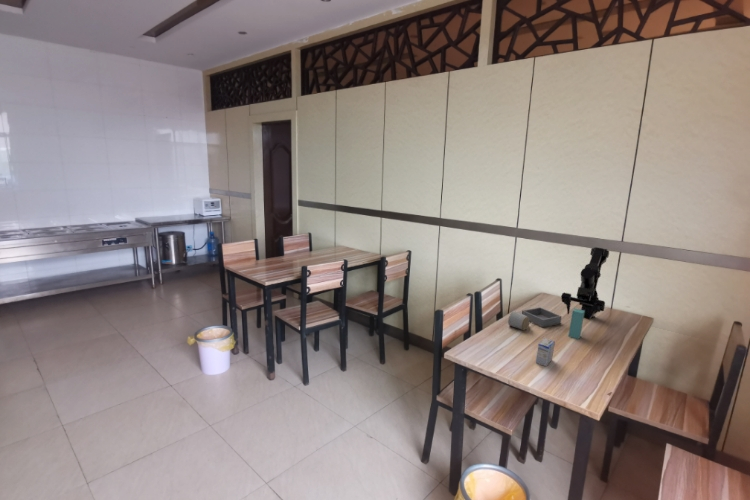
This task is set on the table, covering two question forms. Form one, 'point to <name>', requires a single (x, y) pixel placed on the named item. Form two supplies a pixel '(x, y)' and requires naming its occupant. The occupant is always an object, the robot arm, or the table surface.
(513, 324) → the ceramic mug
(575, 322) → the handle block
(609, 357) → the table surface
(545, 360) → the medicine box
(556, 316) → the box
